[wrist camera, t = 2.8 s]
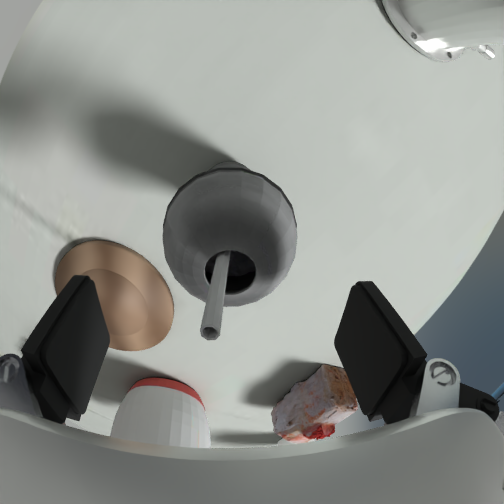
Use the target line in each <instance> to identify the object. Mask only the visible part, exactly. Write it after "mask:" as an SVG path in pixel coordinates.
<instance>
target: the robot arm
mask: <svg viewBox="0 0 504 504" xmlns="http://www.w3.org/2000/svg"><path fill="white" fill-rule="evenodd" d="M382 3H383V6H384V8H385V11H386V13H387V15H388V16H389V18H390V20H391V22H392V23H393V25H394V26H395V28H396V29H397V30H398V32H399V33H400V34H401V35H402V36H403V38H404V39H405V40H406V41H407V42H408V43H409V44H410V45H411V46H412V47H414V48H415V49H416V50H418V51H419V52H420V53H422V54H423V55H425V56H427V57H428V58H431V59H433V60H436V61H441V62H449V61H454V60H457V59H458V58H460V57H461V55H462V54H463V52H464V50H465V48H471V49H472V50H477V51H478V52H479V53H480V54H482V55H483V56H484V57H486V58H487V59H489V60H491V59H493V58H494V50H493V49H492V48H491V47H489V46H488V45H494V44H504V0H382ZM109 344H110V335H109V332H108V329H107V325H106V322H105V319H104V316H103V312H102V309H101V305H100V301H99V298H98V294H97V290H96V286H95V283H94V281H93V280H91V279H90V277H89V276H87V275H74V276H73V277H72V278H71V279H70V280H69V282H68V283H67V284H66V286H65V287H64V288H63V289H62V291H61V292H60V293H59V295H58V296H57V297H56V299H55V300H54V301H53V303H52V304H51V306H50V307H49V308H48V310H47V311H46V313H45V314H44V316H43V317H42V318H41V320H40V321H39V323H38V324H37V326H36V327H35V329H34V330H33V332H32V333H31V335H30V336H29V338H28V340H27V341H26V343H25V344H24V346H23V348H22V349H21V352H22V353H23V356H22V358H20V357H19V356H18V355H15V354H6V355H3V356H1V357H0V504H504V412H503V411H501V412H500V413H499V407H498V404H497V402H496V400H495V399H494V398H493V397H492V396H491V395H489V394H487V393H484V392H482V391H479V390H477V389H474V388H472V387H469V386H467V385H465V384H462V383H460V376H459V373H458V370H457V369H456V368H455V366H454V365H453V364H451V363H450V362H449V361H447V360H445V359H441V358H434V359H432V360H430V361H429V362H428V363H427V362H426V361H425V358H426V357H427V353H426V352H425V351H424V349H423V348H422V346H421V345H420V343H419V342H418V341H417V339H416V338H415V336H414V335H413V334H412V332H411V331H410V329H409V328H408V327H407V325H406V324H405V323H404V321H403V320H402V319H401V317H400V316H399V315H398V313H397V312H396V311H395V309H394V308H393V307H392V305H391V304H390V303H389V302H388V300H387V299H386V298H385V296H384V295H383V294H382V293H381V291H380V290H379V289H378V288H377V286H376V285H375V284H374V283H373V282H372V281H359V282H357V283H356V284H355V285H354V286H352V288H351V290H350V294H349V297H348V300H347V303H346V307H345V310H344V313H343V316H342V319H341V322H340V325H339V328H338V331H337V334H336V336H335V340H334V345H335V348H336V351H337V353H338V355H339V358H340V360H341V362H342V365H343V367H344V369H345V372H346V374H347V376H348V379H349V381H350V384H351V386H352V388H353V391H354V393H355V396H356V398H357V400H358V403H359V405H360V408H361V410H362V412H363V414H364V415H367V416H368V419H369V421H370V422H371V421H374V420H378V419H382V418H383V419H384V421H385V424H384V426H382V427H378V428H374V429H370V430H366V431H363V432H358V433H354V434H350V435H345V436H341V437H336V438H331V439H325V440H319V441H313V442H307V443H299V444H291V445H282V446H271V447H257V448H191V447H177V446H166V445H157V444H149V443H142V442H136V441H130V440H124V439H119V438H114V437H109V436H104V435H100V434H96V433H92V432H88V431H84V430H80V429H76V428H72V427H69V426H66V424H65V420H66V417H67V418H70V419H73V420H77V421H79V420H80V417H81V414H84V413H85V412H86V409H87V406H88V403H89V400H90V396H91V393H92V390H93V388H94V385H95V382H96V379H97V376H98V373H99V371H100V368H101V365H102V362H103V360H104V357H105V355H106V352H107V349H108V347H109Z"/></svg>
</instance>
